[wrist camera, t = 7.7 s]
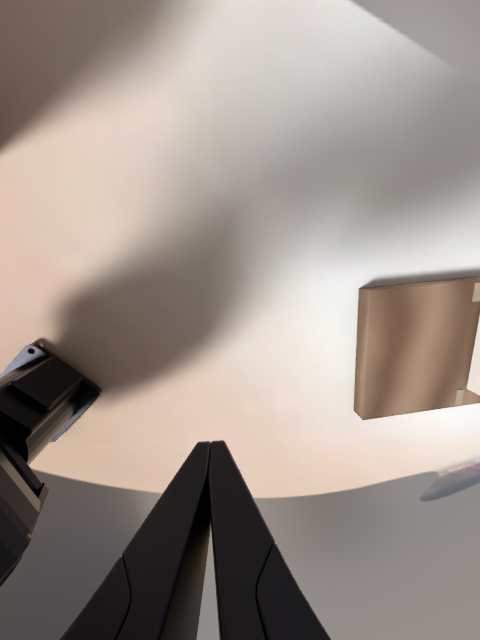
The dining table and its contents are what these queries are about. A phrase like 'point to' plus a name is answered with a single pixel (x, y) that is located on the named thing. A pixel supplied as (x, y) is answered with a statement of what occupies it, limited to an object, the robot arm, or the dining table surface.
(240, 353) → the dining table surface
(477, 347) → the block
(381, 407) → the board
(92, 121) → the dining table surface
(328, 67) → the dining table surface
